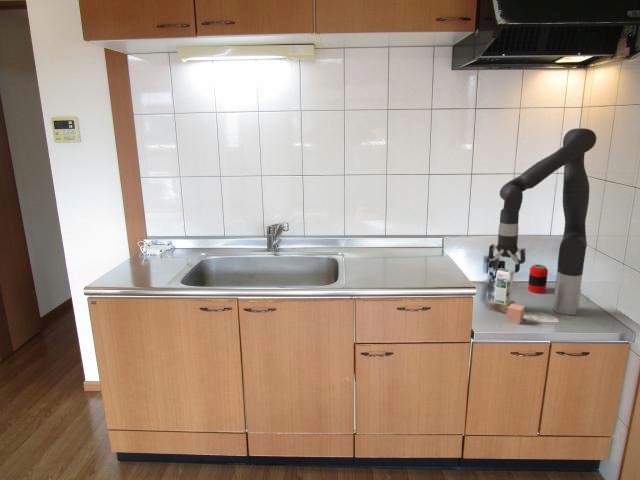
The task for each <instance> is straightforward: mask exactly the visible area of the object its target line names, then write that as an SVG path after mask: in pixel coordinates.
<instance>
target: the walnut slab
mask: <svg viewBox="0 0 640 480" xmlns="http://www.w3.org/2000/svg"><path fill="white" fill-rule="evenodd" d="M511 304H516V302H515V301H513V300H511V302H510V303H509V304H508V305H507V306H506V305H502V304H498V303H494V299H492V300H491V301H490V302H489V306H488V310H490V311H493V312H498V313H501V314H505V315H507V310H508V307H509V306H510V305H511Z"/></svg>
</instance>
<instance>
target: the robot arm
mask: <svg viewBox="0 0 640 480" xmlns="http://www.w3.org/2000/svg"><path fill="white" fill-rule="evenodd" d="M596 143H597V135H596V133H595V132H594V131H593V130H592V129H590V128H573V129H570V130H568V131H567V132H566V133H565V135H564V137H563V140H562V147H560V148H559V149H558V150H556V151H554V152H553V153H551V154H550V155H548V156H546V157H545V158H542V159H540V160H539V161H537V162H536V163H535V164H533V165H532V166H530V167H528V169H526V170H525V171H524V172H523V173H522V174H520V175H518V176H516V177H515V178H513V179H511V180H510V181H508V182H506V183H505V184H504V185H503V186H502V187H501V188H500V189H499V197H500V198H501V199H502V200H503V201H504V203H503V208H502V209H501V210H500V213H499V214H500V217H499V225H498V230H497V231H498V233H497V236H498V237H497V245H495V244H493V243H492V244H490V245H489V249H488V256H487V257H488V259H489V260H492V269H493V270H497V269H498V259H499V258H500V256H501V257H502V258H509V259H510V258H511V260H512V261H514V263H515V264H514V274H517V273H518V272H520V270H521V269H520V268H521V264H522V265H523V264H525V262H526V248H519V247H518V243H519V241H518V240H519V218H520V211H521V207H522V203H523V199H524V197H523V196H524V195H523V192H525V191H526V190H530V189H533V188H534V187H536V186H538V185H539V184H540V183H542V182H543V181H544V180H545V179H547V178H548V177H549V176H551V175H552V174H553V173H555V172H556V171H557V170H559V169H561V168H562V167H564V168H563V183H562V184H563V185H562V186H563V187H562V209H563V211H562V212H563V216H564V228H563V229H564V230H563V236H562V239H561V241H560V245H559V249H558V255H557V256H558V257H557V269H556V277H555V278H556V279H555V284H554V294H553V300H552V301H553V302H552V307H551V308H552V310H553V311H554V312H555V313H558V314H561V315H564V316H576V315H577V314H578V311H579V308H580V301H581V295H582V294H581V293H582V290H581V289H582V288H581V287H582V282H583V281H582V278H583V273H584V263H585V257H586V252H587V246H588V243H587V232H586V219H587V215H588V208H589V202H590V183H589V181H590V180H589V178H588V175H587V172H586V168H585V154H586V153H587V152H588V151H590V150H592V149H593V148H594V147H595V145H596ZM495 250H496V251H497V253H496V254H495V256H494V251H495ZM517 253H518V254H519V255H520V258H519V256H518V254H517Z"/></svg>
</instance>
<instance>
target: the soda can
mask: <svg viewBox="0 0 640 480" xmlns="http://www.w3.org/2000/svg"><path fill="white" fill-rule="evenodd" d="M548 274H549V270H548V269H547V266H545V265H543V264H533V265H531V267H529V275H528V283H527V284H528V285H527V289H528V291H529V292H530V293H533V294H544V293H546V289H547V281H548Z"/></svg>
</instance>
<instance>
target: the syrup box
mask: <svg viewBox="0 0 640 480" xmlns="http://www.w3.org/2000/svg"><path fill="white" fill-rule="evenodd" d="M514 274H515V269H506V268H502V267H501V268H498V270H497V271H496V276H495V278H496V279H495V288H494V296H493V297H494V299H493V300H494V303H498V304H502V305H506V306H507V305H508V304H509V303H510V302H511V301H512V292H513V285H514Z"/></svg>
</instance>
